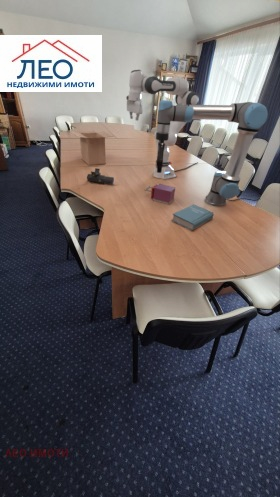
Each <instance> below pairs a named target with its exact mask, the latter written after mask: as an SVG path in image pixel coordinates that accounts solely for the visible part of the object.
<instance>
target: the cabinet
mask: <svg viewBox="0 0 280 497" xmlns="http://www.w3.org/2000/svg"><path fill="white" fill-rule="evenodd" d="M157 185H158V186H156V187H155V188H154V197H153V198H152V201H155V202H157V203H161V204H165V205H170V204H171V203H172V202H173V201H175V200H174V199H175V194H176V186H172V185H167V184H163V183H159V184H157Z"/></svg>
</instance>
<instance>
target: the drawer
mask: <svg viewBox="0 0 280 497" xmlns="http://www.w3.org/2000/svg"><path fill="white" fill-rule="evenodd" d="M158 185H159V184H155V185H154V186H151V185H148V186H147V187H146V188H145V189H144V191H145V192H150V199H153V197H154V188H155V187H156V186H158ZM150 189H151V190H150Z"/></svg>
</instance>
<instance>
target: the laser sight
mask: <svg viewBox="0 0 280 497" xmlns="http://www.w3.org/2000/svg"><path fill="white" fill-rule="evenodd" d="M100 170H101V168H94V171H90V173H87V175H86V180H87V182H90V183H96V184H102V185H104V184H108V185H114V181H115V178H114V176H108V175H107V176H106V175H104V174H101V172H100Z"/></svg>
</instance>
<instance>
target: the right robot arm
mask: <svg viewBox="0 0 280 497" xmlns="http://www.w3.org/2000/svg"><path fill="white" fill-rule="evenodd" d="M268 114H269V113H268V108H267V107H266V106H265V105H264V104H262V103H260V102H253V101H246V102H235V103H233V102H232V103H231V104H230V105H229V104H228V105H227V104H197V105H182V104H178V105H177V104H176V105H174V101H173V100H166V99H165V100H162V99H161V100H160V101H159V102H158V110H157V119H156V120H157V121H156V125H155V128H156V131H157V133H156V139H157V140H159V142H158V154H157V153H156V159H157V165H156V166H158V167H157V173H161V171H162V163H163V153H164V147H165V143H164V141H167V140H168V138H169V133H168V132H169V131H170V122H171V121H178V122H187V123H191V122H192V121H193V120H208V121H210V120H212V121H214V120H215V121H227V122H228V123H236V124H238V125H237V128H236V130H237V132H238V133H237V136H236V139H235V143H234V145H233V148H232V152H231V155H230V157H229V159H228V160H229V161H228V164H227V167H226V170H225V171H224V170H217V171H215V172H214V174H213V178H212V182H211V186H210V188H209V192H208V193H207V195H206V196H205V199H204V200H205V201H204V202H205V203H206V204H208V205H210V206H213V207H224V206H226V204H227V201H229V202H235V201H239V200H248V201H252V202H257V201H259V200H261V198H260V197H258V198H257V199H251V198H246V197H241V198H236V199H233V198H235V197H236V196H237V195H238V194H239V192H240V186H239V184H240V181H241V178H240V174H241V172H242V169H243V165H244V163H245V160H246V159H247V158H246V157H247V155H248V152H249V150H250V147H251V145H252V141H253V139H254V136H255V135H256V134H258V133H259V131H260V128H261V127H262V126H263V125H265V123H266V122H267V120H268ZM157 155H158V156H157Z"/></svg>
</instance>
